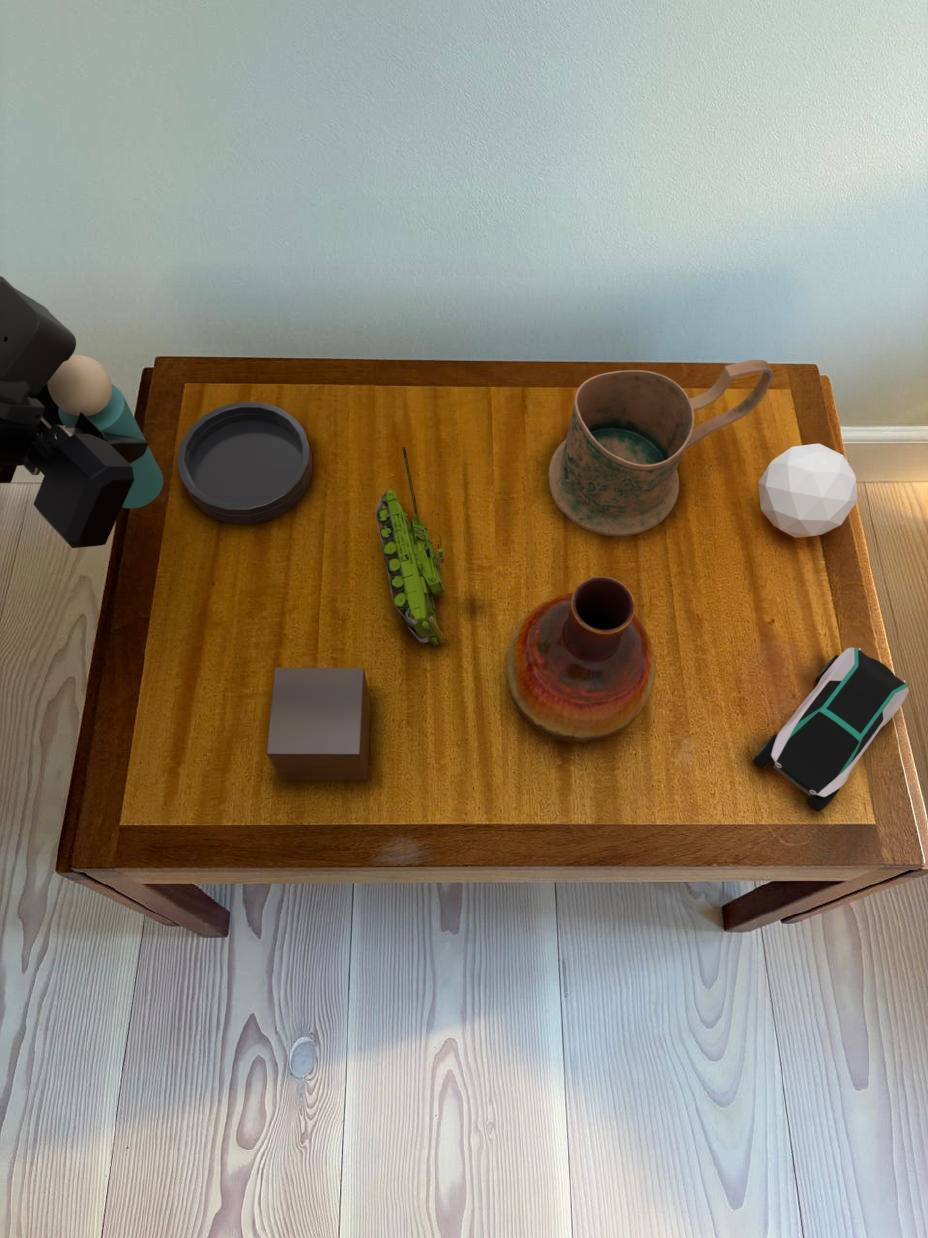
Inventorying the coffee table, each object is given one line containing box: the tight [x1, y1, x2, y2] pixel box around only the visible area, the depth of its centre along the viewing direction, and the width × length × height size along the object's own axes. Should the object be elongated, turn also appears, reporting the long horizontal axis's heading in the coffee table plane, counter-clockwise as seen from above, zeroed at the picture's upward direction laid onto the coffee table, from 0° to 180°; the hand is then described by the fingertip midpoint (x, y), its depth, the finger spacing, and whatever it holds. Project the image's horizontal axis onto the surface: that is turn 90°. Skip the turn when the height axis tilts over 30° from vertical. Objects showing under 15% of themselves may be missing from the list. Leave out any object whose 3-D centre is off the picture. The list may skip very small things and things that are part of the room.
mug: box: [547, 359, 774, 537], centre depth 75 cm, size 12×18×12 cm, turn 108°
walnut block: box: [266, 667, 372, 782], centre depth 66 cm, size 6×6×7 cm
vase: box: [505, 575, 657, 744], centre depth 64 cm, size 11×11×15 cm
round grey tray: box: [176, 401, 314, 526], centre depth 78 cm, size 11×11×2 cm
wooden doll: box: [48, 354, 164, 509], centre depth 63 cm, size 4×4×14 cm
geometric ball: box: [757, 443, 858, 539], centre depth 75 cm, size 8×8×8 cm
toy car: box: [752, 647, 910, 813], centre depth 67 cm, size 6×12×5 cm, turn 138°
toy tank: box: [368, 445, 460, 646], centre depth 73 cm, size 7×19×10 cm
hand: (125, 428), depth 64 cm, fingers closed on wooden doll, 4 cm apart
